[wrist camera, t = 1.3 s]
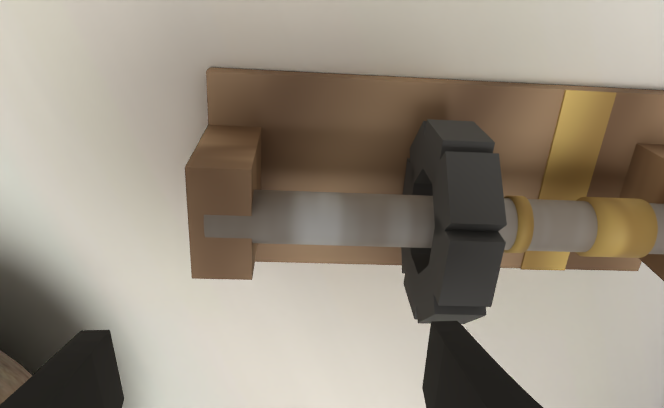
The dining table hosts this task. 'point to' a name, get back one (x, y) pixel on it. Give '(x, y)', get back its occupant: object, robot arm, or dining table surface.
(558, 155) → the pipe stand
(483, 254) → the dark grey hex nut
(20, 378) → the cooking pot
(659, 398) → the dining table surface
